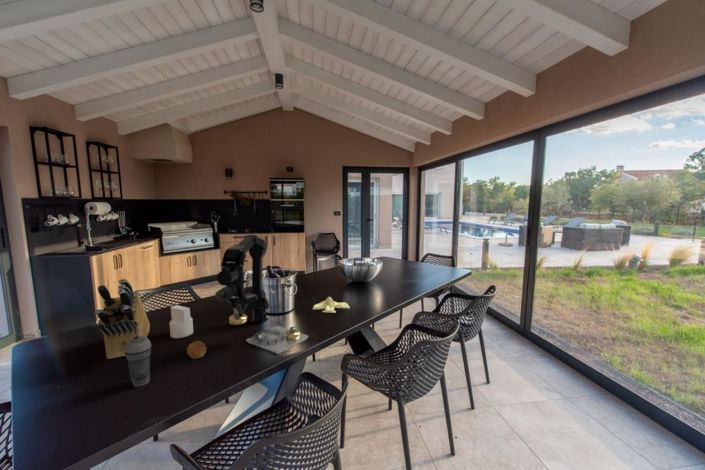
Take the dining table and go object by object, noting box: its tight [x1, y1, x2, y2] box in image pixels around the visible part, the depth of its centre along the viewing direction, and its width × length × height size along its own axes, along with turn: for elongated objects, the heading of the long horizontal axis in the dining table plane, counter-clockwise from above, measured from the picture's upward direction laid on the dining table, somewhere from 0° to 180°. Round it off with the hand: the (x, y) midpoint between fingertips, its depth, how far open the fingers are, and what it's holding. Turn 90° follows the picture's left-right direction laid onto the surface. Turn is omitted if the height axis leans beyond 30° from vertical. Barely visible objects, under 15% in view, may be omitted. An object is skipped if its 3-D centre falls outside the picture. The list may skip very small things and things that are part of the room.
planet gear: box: [228, 306, 248, 326], centre depth 128 cm, size 7×7×6 cm
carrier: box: [246, 325, 309, 355], centre depth 131 cm, size 19×17×5 cm
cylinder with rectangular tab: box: [169, 304, 194, 339], centre depth 138 cm, size 9×9×12 cm
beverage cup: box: [125, 324, 153, 388], centre depth 100 cm, size 7×7×20 cm
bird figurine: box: [312, 296, 351, 314], centre depth 173 cm, size 22×19×6 cm
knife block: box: [94, 278, 151, 360], centre depth 123 cm, size 11×35×31 cm, turn 26°
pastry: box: [186, 340, 208, 360], centre depth 120 cm, size 9×7×4 cm
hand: (238, 315), depth 128 cm, fingers closed on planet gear, 3 cm apart
